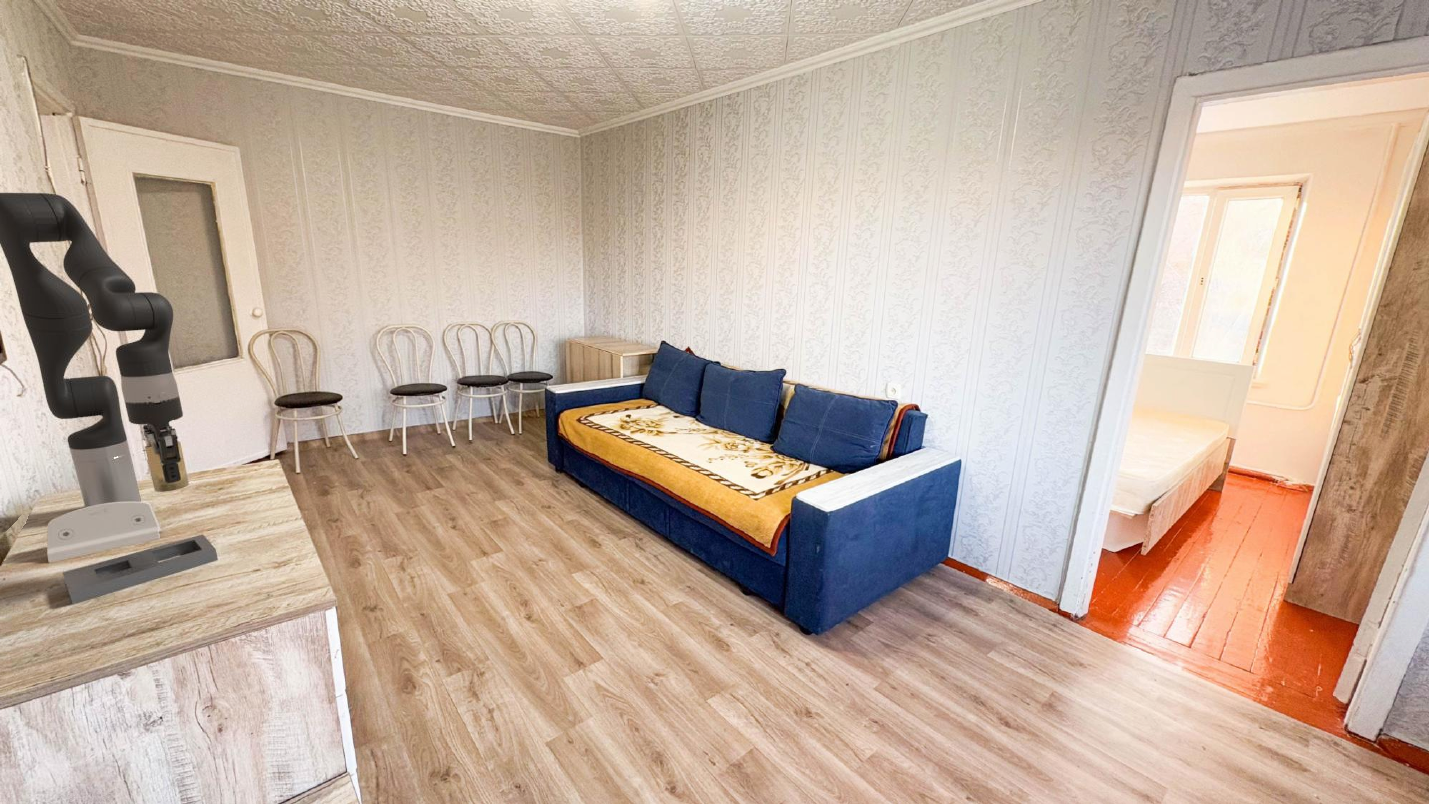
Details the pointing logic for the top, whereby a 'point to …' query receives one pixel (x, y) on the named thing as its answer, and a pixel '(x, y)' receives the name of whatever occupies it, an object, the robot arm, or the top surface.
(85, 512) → the grey curved housing
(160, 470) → the cylinder
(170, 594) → the top surface
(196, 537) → the grey flat block
